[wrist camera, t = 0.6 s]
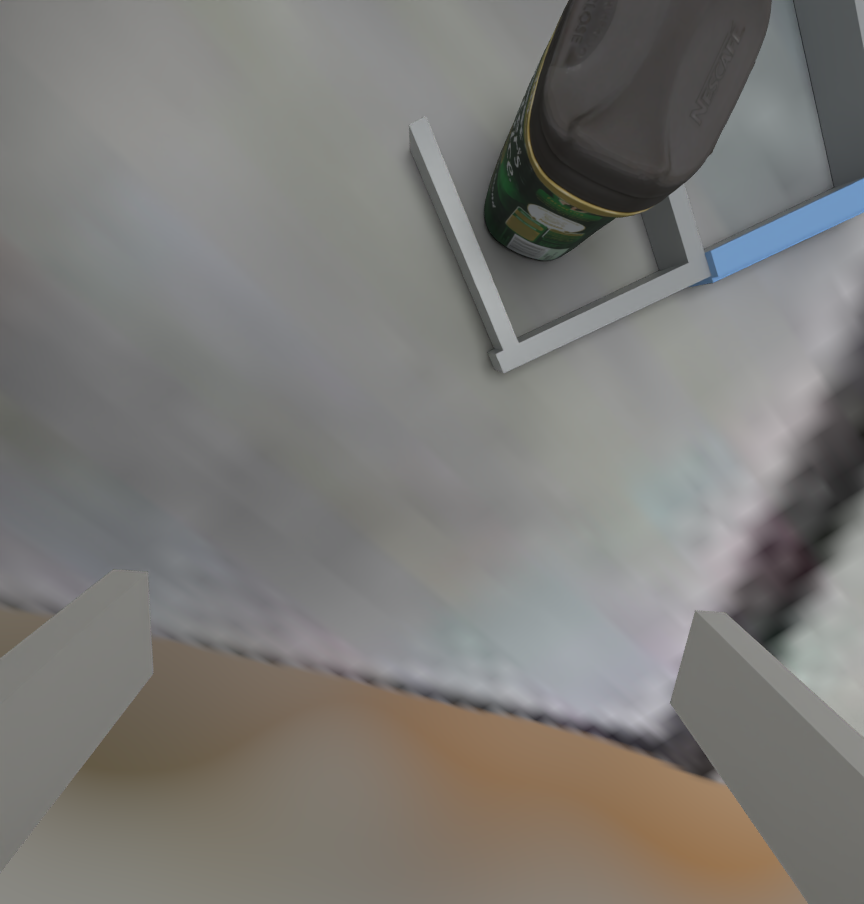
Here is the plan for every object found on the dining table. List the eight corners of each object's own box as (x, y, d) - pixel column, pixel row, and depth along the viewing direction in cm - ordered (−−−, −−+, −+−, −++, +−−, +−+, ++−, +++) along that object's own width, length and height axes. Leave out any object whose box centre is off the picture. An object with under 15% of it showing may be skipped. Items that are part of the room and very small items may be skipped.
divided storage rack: (402, 153, 33) (400, 124, 29) (809, -58, 31) (877, -125, 27) (496, 375, 37) (508, 380, 33) (863, 203, 35) (929, 183, 31)
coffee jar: (518, 98, 33) (642, -190, 15) (617, 146, 34) (846, -71, 16) (466, 235, 35) (519, 129, 17) (560, 277, 36) (706, 217, 18)
